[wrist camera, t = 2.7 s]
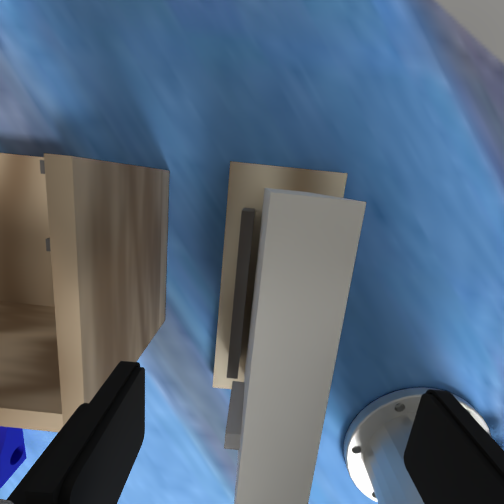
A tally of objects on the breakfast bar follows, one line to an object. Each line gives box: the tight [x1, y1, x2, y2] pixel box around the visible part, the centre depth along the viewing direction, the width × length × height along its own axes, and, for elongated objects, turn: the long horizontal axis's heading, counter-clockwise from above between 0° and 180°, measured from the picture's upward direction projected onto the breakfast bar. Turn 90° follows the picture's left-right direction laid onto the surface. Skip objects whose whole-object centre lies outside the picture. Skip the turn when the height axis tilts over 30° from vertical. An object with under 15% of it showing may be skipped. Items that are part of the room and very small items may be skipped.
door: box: [224, 188, 366, 504], centre depth 16 cm, size 15×4×11 cm, turn 174°
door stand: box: [213, 161, 348, 389], centre depth 21 cm, size 8×18×4 cm, turn 174°
